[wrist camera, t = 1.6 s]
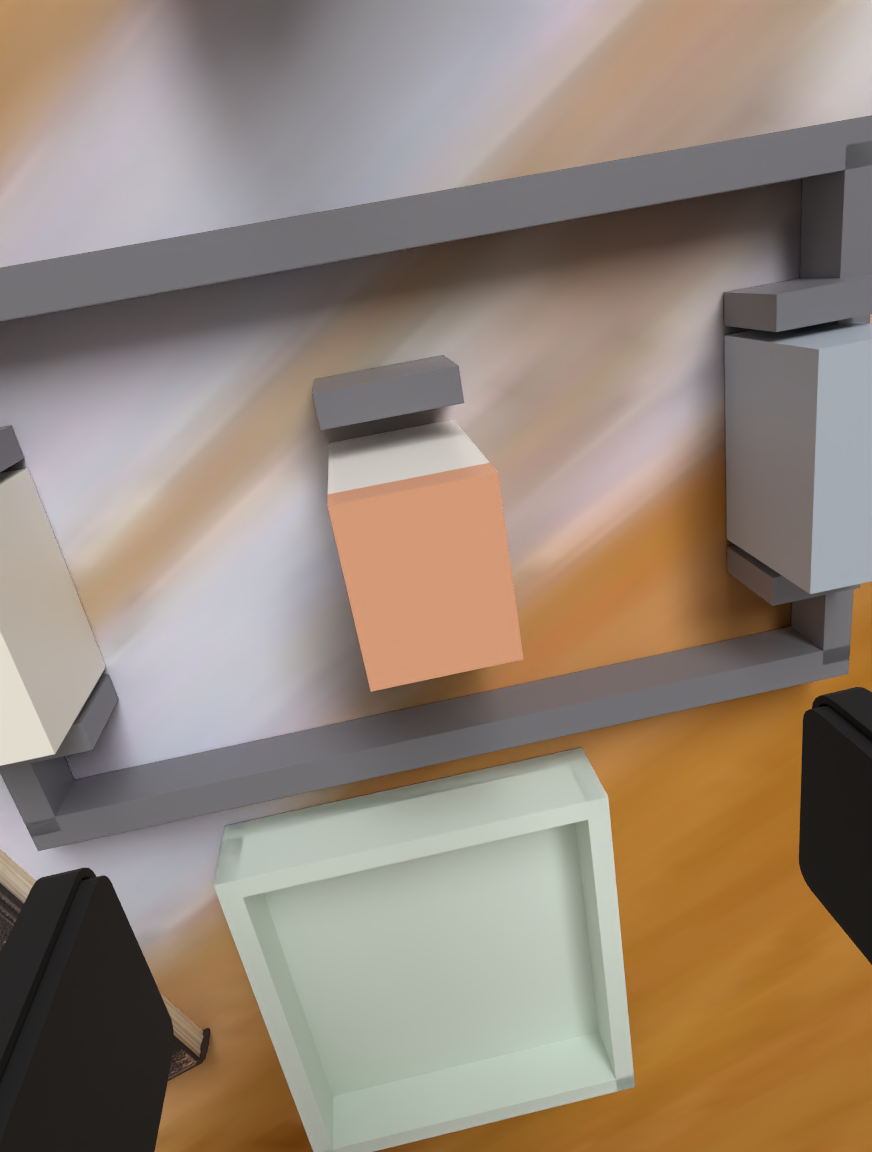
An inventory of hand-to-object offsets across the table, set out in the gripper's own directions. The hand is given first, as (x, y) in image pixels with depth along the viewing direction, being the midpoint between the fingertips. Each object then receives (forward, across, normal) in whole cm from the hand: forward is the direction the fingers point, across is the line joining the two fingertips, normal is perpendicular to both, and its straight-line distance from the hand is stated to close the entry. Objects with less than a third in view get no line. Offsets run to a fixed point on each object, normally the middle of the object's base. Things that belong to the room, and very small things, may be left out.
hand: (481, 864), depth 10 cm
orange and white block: (+16, -1, 0) cm, 16 cm away
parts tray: (+16, +1, +19) cm, 25 cm away
